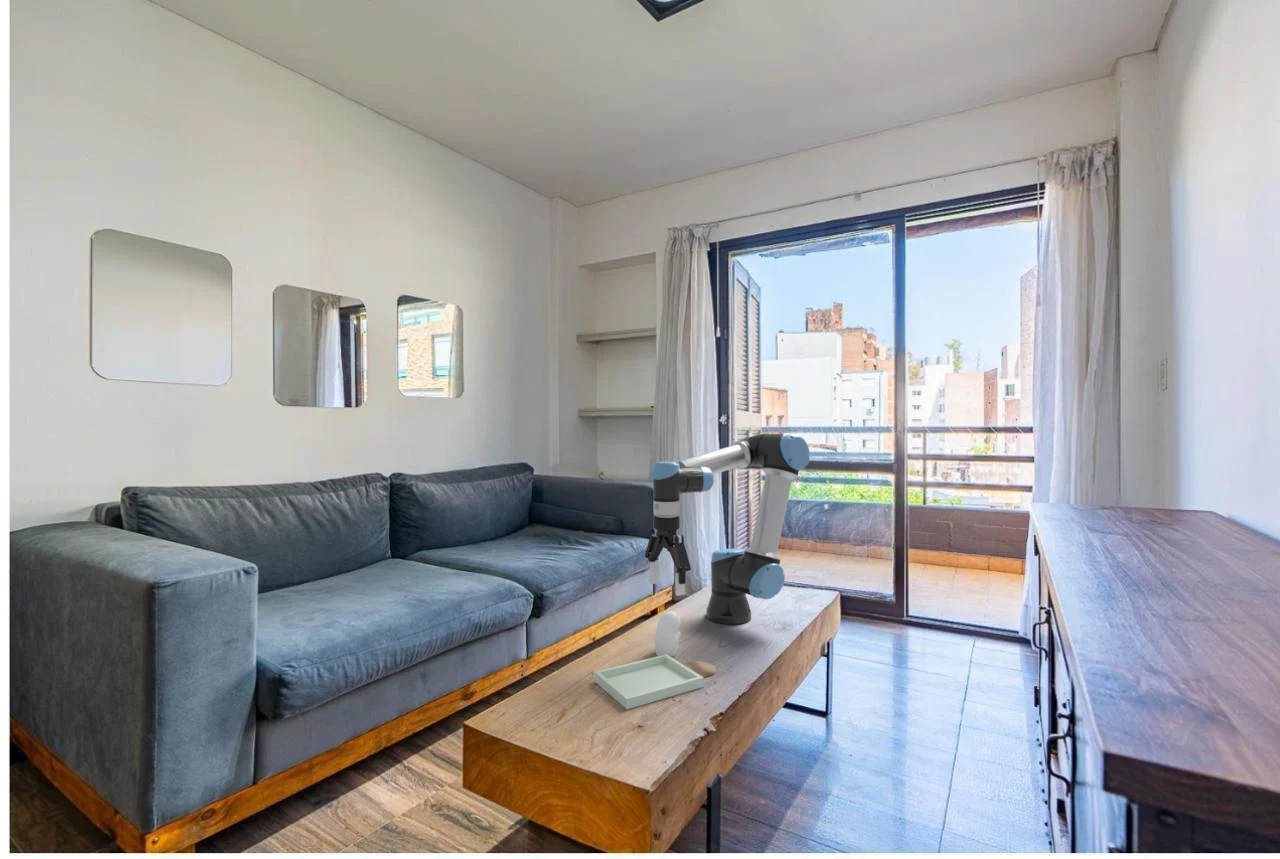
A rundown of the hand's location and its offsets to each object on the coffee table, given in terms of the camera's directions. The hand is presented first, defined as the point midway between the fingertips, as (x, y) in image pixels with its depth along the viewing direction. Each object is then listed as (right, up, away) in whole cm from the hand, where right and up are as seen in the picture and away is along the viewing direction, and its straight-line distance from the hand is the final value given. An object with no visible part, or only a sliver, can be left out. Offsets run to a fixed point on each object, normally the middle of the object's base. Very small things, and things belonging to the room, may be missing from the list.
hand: (666, 589), depth 164 cm
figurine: (0, -19, 0) cm, 19 cm away
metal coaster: (+8, -19, -11) cm, 23 cm away
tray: (-6, -19, -20) cm, 28 cm away
